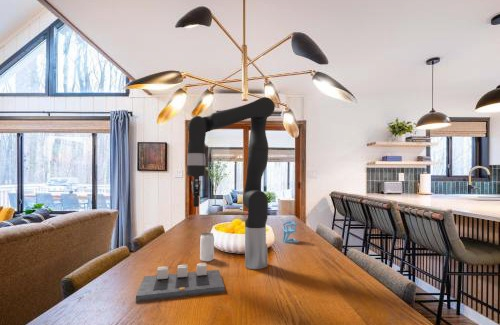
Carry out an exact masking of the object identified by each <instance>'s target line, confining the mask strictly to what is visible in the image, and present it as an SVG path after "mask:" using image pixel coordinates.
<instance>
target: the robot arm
mask: <svg viewBox="0 0 500 325" xmlns="http://www.w3.org/2000/svg"><path fill="white" fill-rule="evenodd" d="M275 109H276V108H275V103H274V101H273V99H271V98H270V97H268V96H267V97H266V96H263V97H259V98H258V99H256V100H253V101H252V102H249V103H246V104H243V105H240V106H236V107H233V108H232V107H231V108H228V109H222V110H219V111H215V112H212V113H210V114H208V115H206V116H200V115H195V116H192V117H191V118H190V120H188V123H187V130H188V133H189V134H188V137H189V138H188V144H187V159H186V163H187V164H186V175H187V177H192V180H191V182H190V183H191V192H192V200H193V203H192V205H193V206H192V207H193V208H198V207H199V206H200V192H201V187H202V186H201V185H202V180H200V177H205V176H206V164H207V163H206V143H205V142H206V135H207V133H208V132H210V131H214V130H218V129H222V128H225V127H229V126H231V125H236V124H238V123H240V122H243V121H245V120H248V119H250V132H249V141H248V149H247V150H248V151H247V164H246V166H247V167H246V178H245V185H244V190H243V194H242V203H243V206H244V207H245V208H246V209H247V218H246V219H245V220H244V267H245V268H246V269H249V270H262V269H265V268H268V244H267V237H266V236H267V232H266V231H267V228H266V226H267V221H268V212H269V211H268V210H269V200H268V197H267V195H266V193H265V192H264V191H262V190H261V187H262V186H261V184H262V183H261V182H262V179H263V176H264V172H265V170H266V167H267V164H268V159H269V142H268V138H267V133H266V127H267V119H268V118H269V117H271V116H272V115H273V113H274V112H275Z"/></svg>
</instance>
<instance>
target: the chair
mask: <svg viewBox="0 0 500 325" xmlns="http://www.w3.org/2000/svg"><path fill="white" fill-rule="evenodd" d="M282 225H283V229H282V232H283V237H282V243H284V244H299V241H300V240H297V239H295V238H294V237H292V238H289V236H290V235H292V234H293V233H297V232H298V231H297V230H296V226H297V224H296V222H295V221H287V222H284V223H282ZM293 226H294V227H293ZM289 227H290V228H289Z"/></svg>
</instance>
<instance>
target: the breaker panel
mask: <svg viewBox="0 0 500 325" xmlns="http://www.w3.org/2000/svg"><path fill="white" fill-rule="evenodd" d="M221 293H222V294H223V293H225V285H224V281H223V278H222V275H221V272H220V270H219V269H210V270H207V275H199V276H197V271H192V272H191V271H190V272H189V271H188V275H187V277H177V273H168V278H167V279H157V275H146V276H145V275H144V276H143V278H142V281H141V283H140V285H139V287H138V290H137V292H136V294H135V303H142V302H143V303H144V302H150V301H153V302H154V301H159V300H167V299H168V300H169V299H178V298H186V297H198V296H205V294H206V295H213V294H221Z"/></svg>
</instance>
